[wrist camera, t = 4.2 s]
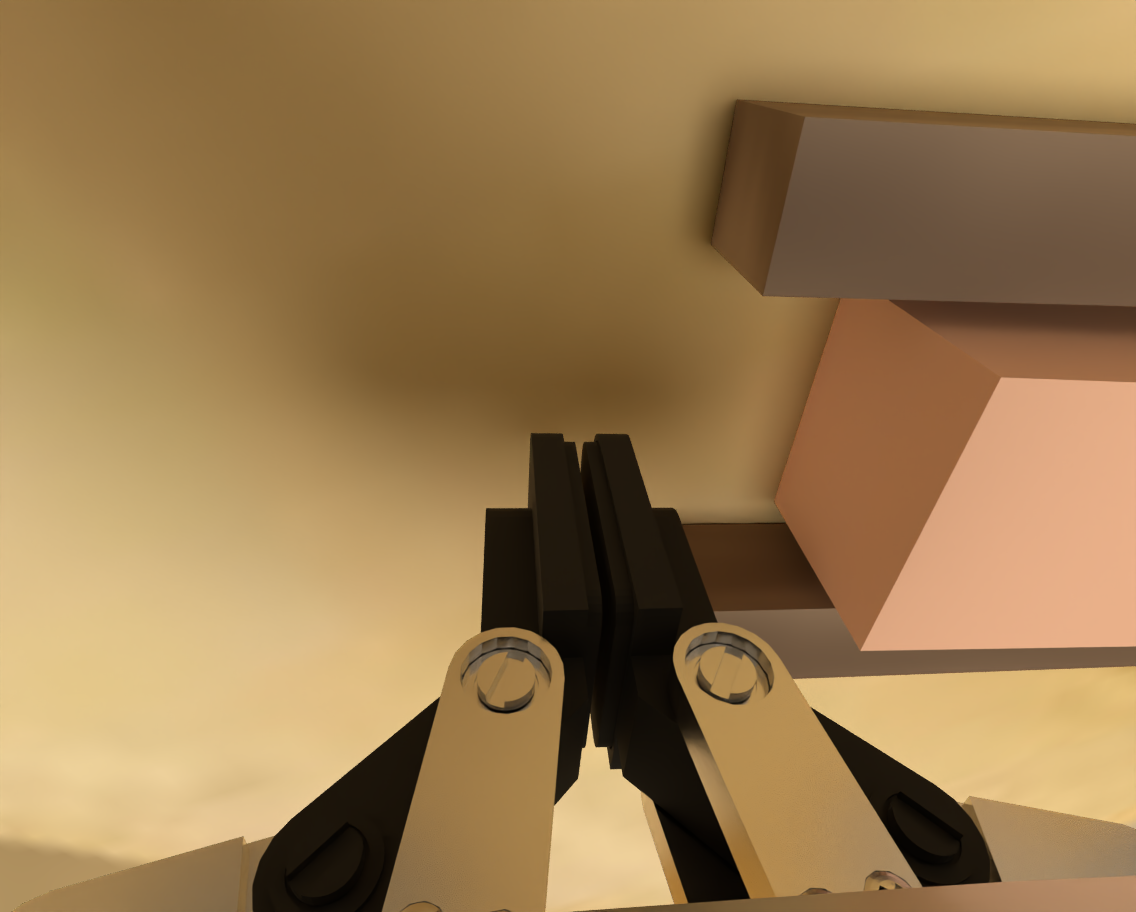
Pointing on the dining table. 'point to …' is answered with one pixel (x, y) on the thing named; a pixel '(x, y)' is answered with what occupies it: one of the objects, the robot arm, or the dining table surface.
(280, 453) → the dining table surface
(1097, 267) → the chute
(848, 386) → the block
